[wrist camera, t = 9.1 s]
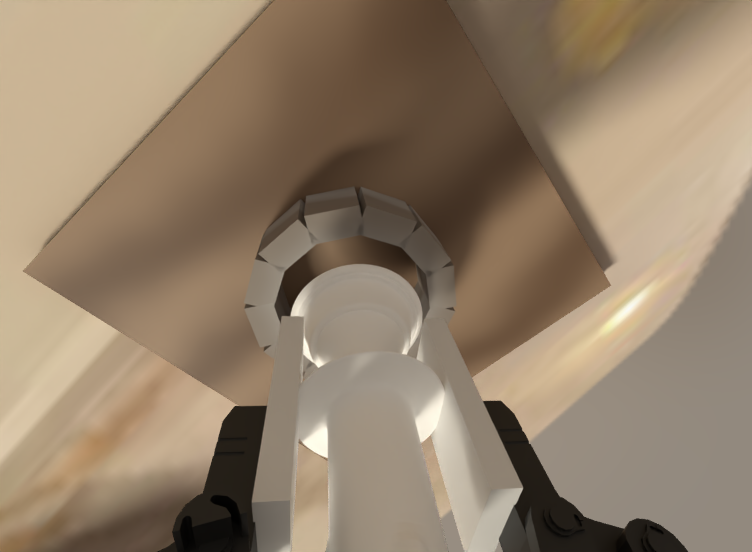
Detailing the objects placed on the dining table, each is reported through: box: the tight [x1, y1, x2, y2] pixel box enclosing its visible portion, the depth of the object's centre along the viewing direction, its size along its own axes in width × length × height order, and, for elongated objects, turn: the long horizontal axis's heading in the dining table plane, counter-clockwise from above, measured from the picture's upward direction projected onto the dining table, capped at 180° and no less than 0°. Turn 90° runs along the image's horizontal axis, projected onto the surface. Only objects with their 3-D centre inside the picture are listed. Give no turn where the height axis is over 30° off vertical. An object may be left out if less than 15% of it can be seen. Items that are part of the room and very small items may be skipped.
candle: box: [291, 264, 449, 552], centre depth 11 cm, size 5×5×12 cm
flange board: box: [23, 0, 611, 461], centre depth 18 cm, size 20×20×4 cm
